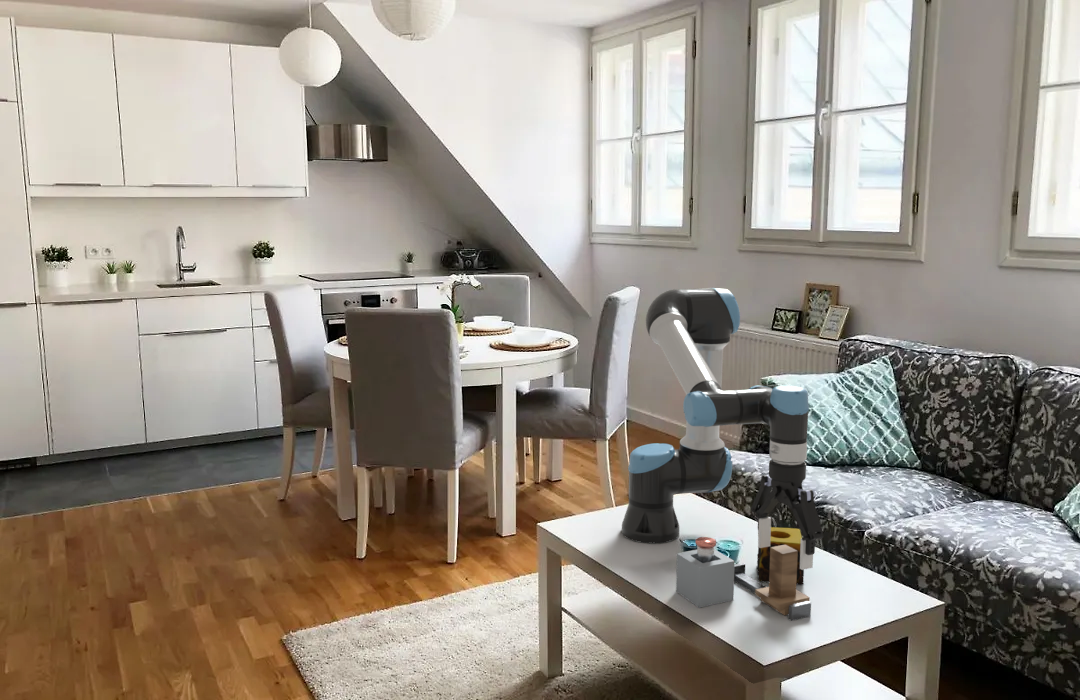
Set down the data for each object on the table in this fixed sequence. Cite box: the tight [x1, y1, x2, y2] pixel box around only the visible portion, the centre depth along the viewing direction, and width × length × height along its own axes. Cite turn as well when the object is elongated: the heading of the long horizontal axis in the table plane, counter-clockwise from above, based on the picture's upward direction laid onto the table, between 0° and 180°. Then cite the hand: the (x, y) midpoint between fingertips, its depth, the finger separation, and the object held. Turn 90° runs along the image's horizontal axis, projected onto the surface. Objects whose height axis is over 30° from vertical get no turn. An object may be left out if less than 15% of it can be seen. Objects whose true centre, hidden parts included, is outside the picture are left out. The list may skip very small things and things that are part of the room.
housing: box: [675, 548, 736, 608], centre depth 197 cm, size 9×9×9 cm
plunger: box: [695, 536, 717, 563], centre depth 196 cm, size 4×4×5 cm
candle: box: [756, 526, 805, 586], centre depth 207 cm, size 10×10×10 cm
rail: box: [734, 562, 812, 621], centre depth 196 cm, size 23×5×3 cm, turn 24°
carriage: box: [754, 545, 811, 616], centre depth 191 cm, size 8×8×13 cm
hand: (784, 557), depth 190 cm, fingers open, 13 cm apart
